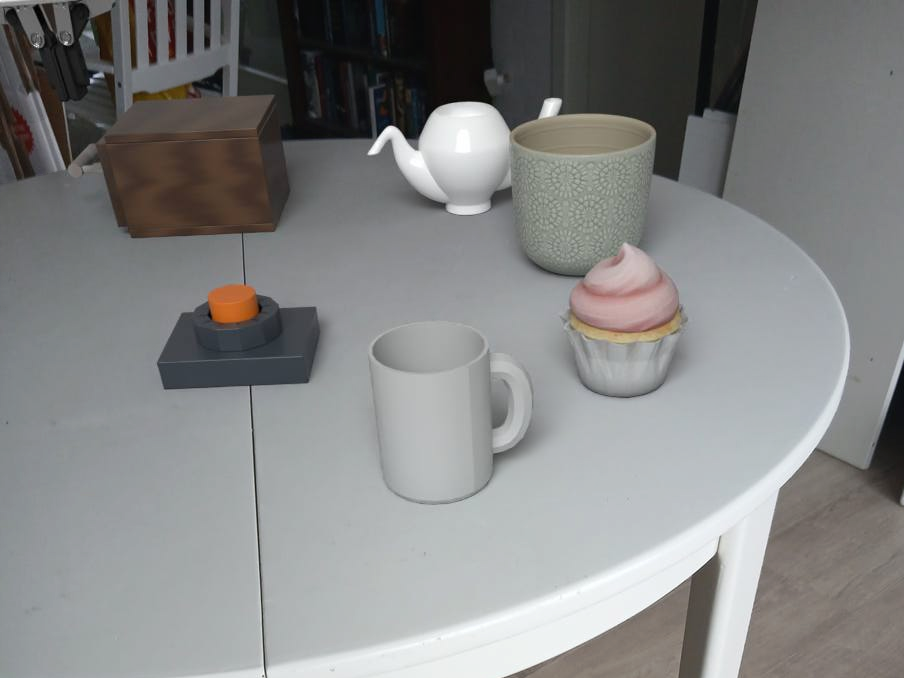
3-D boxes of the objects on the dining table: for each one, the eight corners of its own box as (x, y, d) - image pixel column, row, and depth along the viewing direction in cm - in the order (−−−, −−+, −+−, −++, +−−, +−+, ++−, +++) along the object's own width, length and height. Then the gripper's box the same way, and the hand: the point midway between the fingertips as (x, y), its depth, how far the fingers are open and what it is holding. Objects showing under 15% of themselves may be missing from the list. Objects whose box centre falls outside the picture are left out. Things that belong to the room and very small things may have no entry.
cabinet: (130, 238, 100) (103, 135, 93) (159, 197, 109) (135, 100, 103) (274, 231, 100) (256, 127, 93) (290, 190, 109) (274, 94, 103)
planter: (534, 232, 96) (534, 110, 89) (660, 243, 93) (670, 116, 86) (492, 281, 88) (488, 150, 81) (628, 295, 84) (637, 159, 77)
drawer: (77, 229, 100) (51, 146, 94) (106, 192, 108) (85, 114, 103) (251, 221, 99) (235, 137, 94) (267, 184, 108) (253, 106, 103)
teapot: (366, 205, 104) (355, 108, 98) (546, 182, 108) (546, 87, 101) (383, 236, 97) (372, 133, 91) (575, 210, 101) (577, 110, 94)
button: (208, 327, 74) (203, 304, 73) (217, 307, 77) (212, 285, 76) (255, 324, 74) (251, 302, 73) (262, 305, 77) (258, 283, 76)
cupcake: (565, 347, 77) (567, 216, 71) (686, 353, 76) (700, 219, 69) (549, 405, 71) (550, 266, 64) (681, 413, 69) (697, 271, 62)
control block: (163, 389, 75) (149, 339, 72) (187, 337, 82) (176, 290, 79) (307, 383, 75) (299, 332, 72) (320, 331, 81) (312, 284, 79)
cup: (376, 455, 66) (360, 328, 61) (520, 434, 68) (519, 309, 62) (391, 514, 61) (375, 382, 55) (547, 491, 62) (548, 359, 56)
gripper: (-135, -174, 68) (-28, 116, 81) (79, -191, 68) (153, 102, 81) (-93, -179, 74) (1, 93, 86) (105, -195, 74) (171, 80, 86)
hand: (74, 97), depth 83 cm, fingers closed
